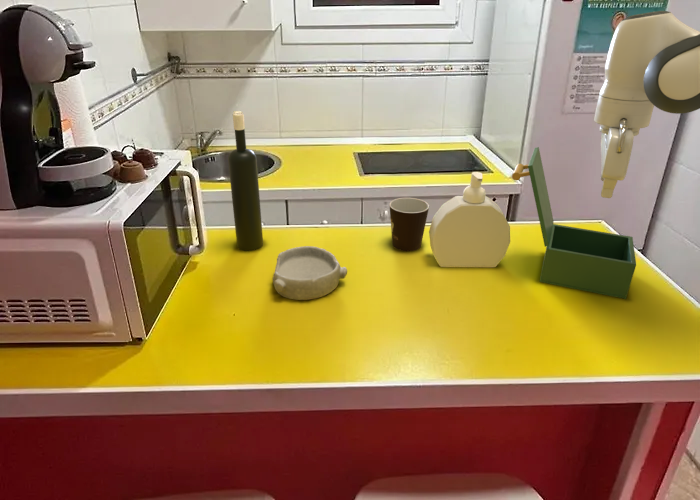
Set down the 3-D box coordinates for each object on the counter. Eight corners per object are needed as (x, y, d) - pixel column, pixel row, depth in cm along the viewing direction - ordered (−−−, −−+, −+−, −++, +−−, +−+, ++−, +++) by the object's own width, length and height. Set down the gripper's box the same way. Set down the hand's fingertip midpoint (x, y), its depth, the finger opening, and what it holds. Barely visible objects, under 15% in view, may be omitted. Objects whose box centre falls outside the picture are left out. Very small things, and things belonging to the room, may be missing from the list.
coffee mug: (420, 257, 112) (423, 215, 108) (382, 250, 115) (384, 209, 110) (432, 236, 122) (436, 196, 117) (397, 230, 125) (399, 191, 120)
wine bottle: (232, 249, 115) (217, 113, 101) (246, 239, 120) (233, 107, 106) (254, 254, 113) (242, 116, 99) (268, 243, 118) (258, 110, 104)
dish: (278, 308, 95) (277, 285, 92) (264, 272, 106) (263, 250, 104) (353, 295, 99) (354, 272, 97) (332, 261, 110) (332, 240, 108)
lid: (538, 146, 104) (515, 151, 107) (532, 165, 94) (506, 170, 96) (553, 221, 110) (531, 224, 112) (549, 246, 99) (524, 249, 102)
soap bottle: (429, 269, 108) (438, 178, 99) (426, 256, 113) (434, 169, 103) (506, 269, 108) (522, 178, 99) (500, 257, 113) (514, 169, 104)
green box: (622, 270, 108) (632, 236, 105) (625, 300, 98) (636, 264, 94) (544, 255, 114) (551, 223, 110) (539, 283, 103) (546, 248, 100)
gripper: (648, 128, 81) (626, 210, 87) (639, 103, 98) (622, 173, 104) (603, 124, 83) (586, 205, 89) (602, 101, 100) (588, 170, 106)
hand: (605, 188), depth 97 cm, fingers open, 8 cm apart
